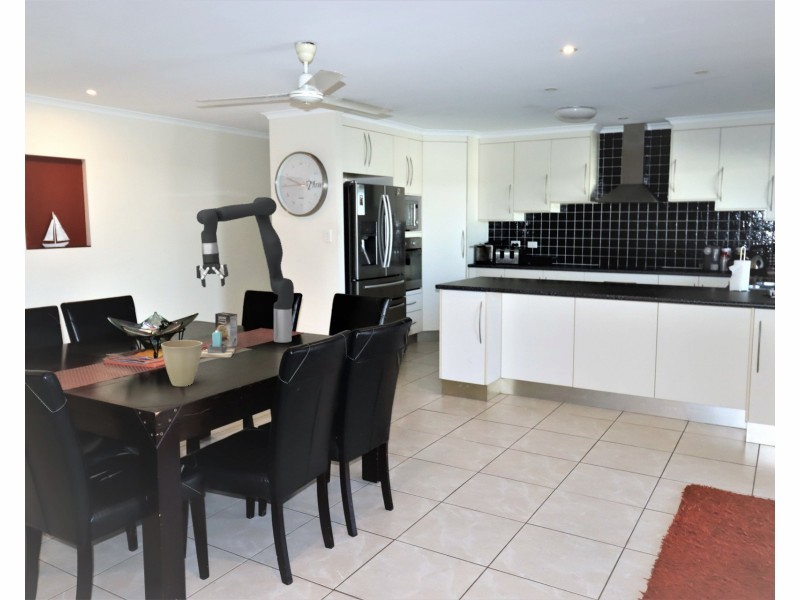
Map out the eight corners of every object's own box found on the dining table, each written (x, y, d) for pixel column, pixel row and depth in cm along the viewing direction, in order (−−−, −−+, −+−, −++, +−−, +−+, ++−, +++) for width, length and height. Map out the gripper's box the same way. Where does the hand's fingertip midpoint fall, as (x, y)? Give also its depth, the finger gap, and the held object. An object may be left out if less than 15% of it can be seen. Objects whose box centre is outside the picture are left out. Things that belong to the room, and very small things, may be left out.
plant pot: (197, 389, 231) (197, 347, 229) (156, 389, 230) (155, 347, 228) (207, 379, 246) (206, 339, 244) (168, 379, 245) (167, 339, 243)
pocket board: (205, 350, 297) (204, 342, 296) (234, 350, 299) (234, 342, 298) (199, 357, 283) (198, 348, 283) (230, 357, 285) (230, 348, 284)
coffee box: (214, 345, 309) (214, 313, 307) (223, 343, 315) (222, 311, 313) (229, 347, 306) (229, 315, 304) (237, 345, 312) (237, 313, 310)
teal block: (214, 350, 292) (214, 330, 291) (221, 350, 293) (221, 330, 292) (212, 352, 288) (212, 331, 287) (220, 352, 289) (220, 331, 288)
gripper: (227, 251, 294) (230, 284, 297) (197, 252, 294) (200, 286, 296) (223, 252, 287) (226, 287, 289) (192, 253, 286) (196, 288, 289)
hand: (213, 286), depth 293 cm, fingers open, 8 cm apart
